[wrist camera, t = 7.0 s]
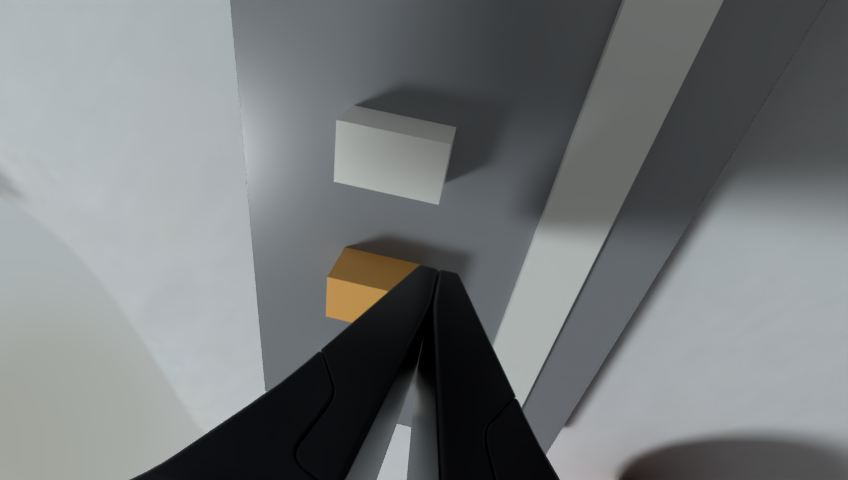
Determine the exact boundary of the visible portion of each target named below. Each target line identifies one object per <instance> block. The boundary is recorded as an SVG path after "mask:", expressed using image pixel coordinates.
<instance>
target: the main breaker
mask: <svg viewBox="0 0 848 480" xmlns="http://www.w3.org/2000/svg"><path fill="white" fill-rule="evenodd" d="M419 265H421V264H416V263H412V262H408V261H403V260H399V259H394V258H390V257H386V256H381V255H377V254H373V253H368V252H364V251H360V250H355V249H351V248H346V247H345V248H344V249H343V251H342V253H341V254H340V256H339V258H338V259H337V261H336V263H335V264H334V266H333V268H332V270H331V271H330V273H329V275H328V276H327V293H326V317H330V318H335V319H339V320H343V321H347V322H351V323H352V322H353V321H354V320H356V319H357V318H358V317H359V316H360V315H361V314H363V313H364V312H365V311H366V310H367V309H368V308H370V307H371V306H372V305H373V304H374V303H376V302H377V301H378V300H379V299H380V298H381V297H383V296H384V295H385V294H386V293H387V292H388V291H390V290H391V289H392V288H393V287H394V286H395V285H397V284H398V283H399V282H400V281H401V280H402V279H404V278H405V277H406V276H407V275H408V274H409V273H411V272H412V271H413V270H414V269H415V268H416V267H418V266H419Z"/></svg>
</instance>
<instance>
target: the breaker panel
mask: <svg viewBox="0 0 848 480" xmlns="http://www.w3.org/2000/svg"><path fill="white" fill-rule="evenodd" d="M826 1H827V0H230V4H231V15H232V26H233V37H234V48H235V59H236V70H237V81H238V92H239V103H240V114H241V126H242V137H243V148H244V159H245V170H246V181H247V192H248V203H249V214H250V225H251V236H252V248H253V259H254V270H255V281H256V292H257V303H258V314H259V325H260V336H261V347H262V358H263V370H264V381H265V391H269V390H271V389H272V388H273V387H275V386H276V385H278V384H279V383H280V382H282V381H283V380H284V379H285V378H287V377H288V376H289V375H290V374H292V373H293V372H294V371H295V370H297V369H298V368H299V367H300V366H302V365H303V364H304V363H305V362H306V361H307V360H309V359H310V358H311V357H312V356H313V355H314V354H316V353H317V352H318V351H320V352H321V349H322V348H323V347H324V346H325V345H326V344H328V343H329V342H330V341H331V340H332V339H333V338H335V337H336V336H337V335H338V334H339V333H340V332H342V331H343V330H344V329H345V328H346V327H347V326H349V325H350V324H351V322H347V321H343V320H339V319H335V318H330V317H326V293H327V276H328V275H329V273H330V271H331V270H332V268H333V266H334V264H335V263H336V261H337V259H338V258H339V256H340V254H341V253H342V251H343V249H344V248H345V247H346V248H351V249H355V250H360V251H364V252H368V253H373V254H377V255H381V256H386V257H390V258H394V259H399V260H403V261H408V262H412V263H416V264H421V265H425V266H430V267H434V268H437V269H438V272H439V271H440V270H441V269H443V270H447V271H452V272H456V273H458V274H459V276H460V278H461V280H462V282H463V284H464V287H465V289H466V291H467V293H468V295H469V297H470V299H471V301H472V304H473V306H474V308H475V310H476V312H477V314H478V316H479V318H480V321H481V323H482V325H483V327H484V329H485V331H486V333H487V336H488V338H489V340H490V342H491V344H492V346H493V348H494V350H495V353H496V355H497V357H498V359H499V361H500V363H501V365H502V368H503V370H504V372H505V374H506V376H507V378H508V380H509V382H510V385H511V387H512V389H513V391H514V393H515V395H516V398H515V399H517V400H518V401H519V403H520V406H521V408H522V410H523V412H524V414H525V416H526V418H527V420H528V422H529V424H530V426H531V428H532V430H533V432H534V434H535V436H536V438H537V440H538V442H539V444H540V446H541V448H542V450H543V451H544V453H545V455H546V453H547V452H548V450H549V449H550V447H551V445H552V444H553V442H554V441H555V439H556V437H557V436H558V434H559V432H560V431H561V429H562V428H563V426H564V424H565V423H566V421H567V420H568V418H569V416H570V415H571V413H572V411H573V410H574V408H575V407H576V405H577V403H578V402H579V400H580V399H581V397H582V395H583V394H584V392H585V390H586V389H587V387H588V386H589V384H590V382H591V381H592V379H593V378H594V376H595V374H596V373H597V371H598V369H599V368H600V366H601V365H602V363H603V361H604V360H605V358H606V357H607V355H608V353H609V352H610V350H611V348H612V347H613V345H614V344H615V342H616V340H617V339H618V337H619V335H620V334H621V332H622V331H623V329H624V327H625V326H626V324H627V323H628V321H629V319H630V318H631V316H632V314H633V313H634V311H635V310H636V308H637V306H638V305H639V303H640V302H641V300H642V298H643V297H644V295H645V293H646V292H647V290H648V289H649V287H650V285H651V284H652V282H653V281H654V279H655V277H656V276H657V274H658V272H659V271H660V269H661V268H662V266H663V264H664V263H665V261H666V260H667V258H668V256H669V255H670V253H671V251H672V250H673V248H674V247H675V245H676V243H677V242H678V240H679V238H680V237H681V235H682V234H683V232H684V230H685V229H686V227H687V226H688V224H689V222H690V221H691V219H692V217H693V216H694V214H695V213H696V211H697V209H698V208H699V206H700V205H701V203H702V201H703V200H704V198H705V196H706V195H707V193H708V192H709V190H710V188H711V187H712V185H713V184H714V182H715V180H716V179H717V177H718V175H719V174H720V172H721V171H722V169H723V167H724V166H725V164H726V163H727V161H728V159H729V158H730V156H731V154H732V153H733V151H734V150H735V148H736V146H737V145H738V143H739V142H740V140H741V138H742V137H743V135H744V133H745V132H746V130H747V129H748V127H749V125H750V124H751V122H752V120H753V119H754V117H755V116H756V114H757V112H758V111H759V109H760V108H761V106H762V104H763V103H764V101H765V99H766V98H767V96H768V95H769V93H770V91H771V90H772V88H773V87H774V85H775V83H776V82H777V80H778V78H779V77H780V75H781V74H782V72H783V70H784V69H785V67H786V66H787V64H788V62H789V61H790V59H791V57H792V56H793V54H794V53H795V51H796V49H797V48H798V46H799V45H800V43H801V41H802V40H803V38H804V36H805V35H806V33H807V32H808V30H809V28H810V27H811V25H812V24H813V22H814V20H815V19H816V17H817V15H818V14H819V12H820V11H821V9H822V7H823V6H824V4H825V2H826ZM422 343H423V342H422ZM420 352H421V351H420ZM419 356H420V355H419ZM418 361H419V360H418ZM417 367H418V364H417ZM417 367H416V371H415V374H414V377H413V380H412V383H411V386H410V388H409V391H408V394H407V397H406V399H405V402H404V405H403V408H402V410H401V413H400V416H399V419H398V421H397V424H401V425H405V426H409V427H412V416H413V405H414V394H415V382H416V373H417Z"/></svg>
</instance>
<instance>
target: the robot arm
mask: <svg viewBox="0 0 848 480" xmlns="http://www.w3.org/2000/svg"><path fill="white" fill-rule="evenodd" d="M422 342H423V343H422ZM420 351H421V352H420ZM419 355H420V356H419ZM418 360H419V361H418ZM417 364H418V367H417ZM416 367H417V373H416V382H415V394H414V405H413V416H412V428H411V439H410V450H409V461H408V473H407V480H560V479H559V477H558V476H557V474H556V472H555V471H554V469H553V467H552V465H551V464H550V462H549V460H548V458H547V457H546V455H545V453H544V451H543V450H542V448H541V446H540V444H539V442H538V440H537V438H536V436H535V434H534V432H533V430H532V428H531V426H530V424H529V422H528V420H527V418H526V416H525V414H524V412H523V410H522V408H521V406H520V403H519V401H518V400H517V399H515V398H516V395H515V393H514V391H513V389H512V387H511V385H510V382H509V380H508V378H507V376H506V374H505V372H504V370H503V368H502V365H501V363H500V361H499V359H498V357H497V355H496V353H495V350H494V348H493V346H492V344H491V342H490V340H489V338H488V336H487V333H486V331H485V329H484V327H483V325H482V323H481V321H480V318H479V316H478V314H477V312H476V310H475V308H474V306H473V304H472V301H471V299H470V297H469V295H468V293H467V291H466V289H465V287H464V284H463V282H462V280H461V278H460V276H459V274H458V273H456V272H452V271H447V270H443V269H441V270H440V271H439V272H438V269H437V268H434V267H430V266H425V265H419V266H418V267H416V268H415V269H414V270H413V271H412V272H411V273H409V274H408V275H407V276H406V277H405V278H404V279H402V280H401V281H400V282H399V283H398V284H397V285H395V286H394V287H393V288H392V289H391V290H390V291H388V292H387V293H386V294H385V295H384V296H383V297H381V298H380V299H379V300H378V301H377V302H376V303H374V304H373V305H372V306H371V307H370V308H368V309H367V310H366V311H365V312H364V313H363V314H361V315H360V316H359V317H358V318H357V319H356V320H354V321H353V322H352V323H351V324H350V325H349V326H347V327H346V328H345V329H344V330H343V331H342V332H340V333H339V334H338V335H337V336H336V337H335V338H333V339H332V340H331V341H330V342H329V343H328V344H326V345H325V346H324V347H323V348H322V349H321V352H320V351H318V352H317V353H316V354H314V355H313V356H312V357H311V358H310V359H309V360H307V361H306V362H305V363H304V364H303V365H302V366H300V367H299V368H298V369H297V370H295V371H294V372H293V373H292V374H290V375H289V376H288V377H287V378H285V379H284V380H283V381H282V382H280V383H279V384H278V385H276V386H275V387H273V388H272V389H271V390H269V391H268V392H266V393H265V394H263V395H262V396H261V397H259V398H258V399H256V400H255V401H254V402H252V403H251V404H249V405H248V406H246V407H245V408H243V409H242V410H240V411H239V412H237V413H236V414H235V415H233V416H232V417H230V418H229V419H227V420H226V421H224V422H223V423H221V424H220V425H218V426H217V427H215V428H214V429H212V430H211V431H209V432H208V433H207V434H205V435H204V436H202V437H201V438H199V439H198V440H196V441H195V442H193V443H192V444H190V445H189V446H187V447H186V448H184V449H183V450H181V451H180V452H179V453H177V454H176V455H174V456H173V457H171V458H169V459H168V460H166V461H165V462H163V463H161V464H160V465H158V466H156V467H154V468H152V469H151V470H149V471H147V472H145V473H143V474H141V475H139V476H137V477H134V478H132V479H130V480H376V479H377V477H378V474H379V471H380V468H381V466H382V463H383V460H384V457H385V455H386V452H387V449H388V446H389V444H390V441H391V438H392V435H393V433H394V430H395V427H396V424H397V421H398V419H399V416H400V413H401V410H402V408H403V405H404V402H405V399H406V397H407V394H408V391H409V388H410V386H411V383H412V380H413V377H414V374H415V371H416Z"/></svg>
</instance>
